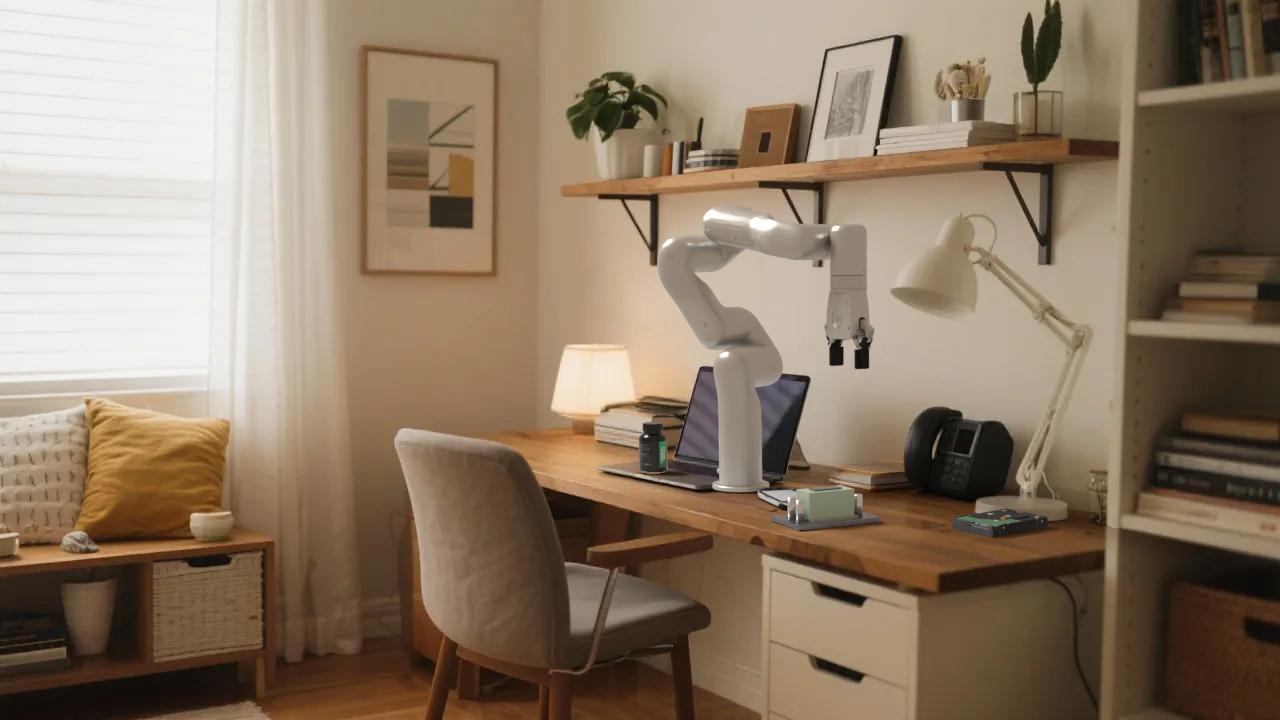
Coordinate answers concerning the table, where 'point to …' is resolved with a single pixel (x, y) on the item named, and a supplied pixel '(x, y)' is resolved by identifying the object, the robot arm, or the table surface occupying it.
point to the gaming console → (776, 496)
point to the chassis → (800, 523)
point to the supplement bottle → (653, 448)
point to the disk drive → (999, 523)
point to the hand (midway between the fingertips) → (848, 367)
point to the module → (827, 501)
